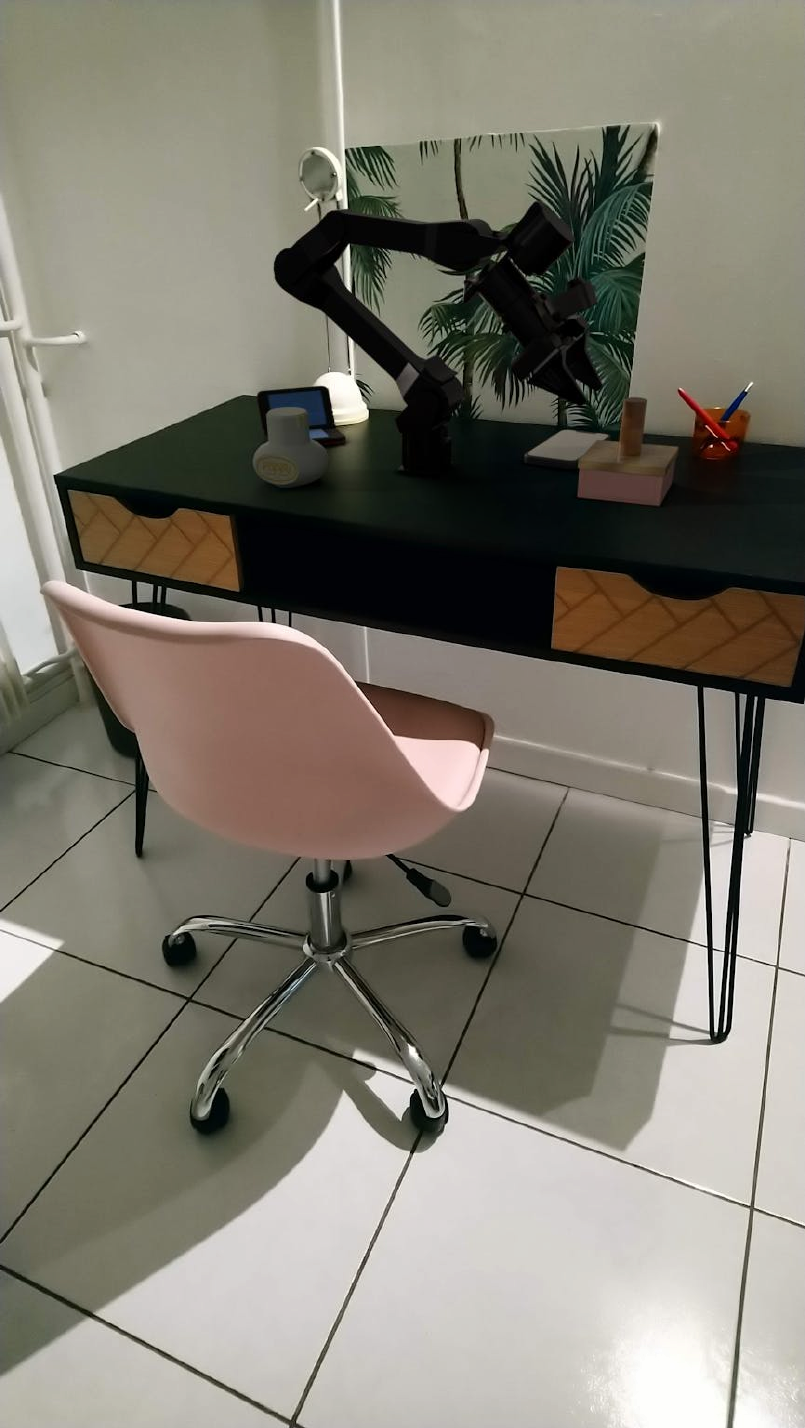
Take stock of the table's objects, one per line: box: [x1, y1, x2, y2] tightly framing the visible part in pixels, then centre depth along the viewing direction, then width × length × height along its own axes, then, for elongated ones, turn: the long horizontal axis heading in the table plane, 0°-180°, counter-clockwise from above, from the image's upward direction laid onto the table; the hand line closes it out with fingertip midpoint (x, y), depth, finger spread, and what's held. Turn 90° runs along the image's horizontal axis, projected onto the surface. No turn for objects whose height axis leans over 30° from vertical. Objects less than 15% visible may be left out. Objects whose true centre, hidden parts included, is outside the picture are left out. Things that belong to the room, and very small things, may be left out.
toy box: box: [577, 459, 676, 507], centre depth 122 cm, size 11×10×4 cm
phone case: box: [524, 429, 612, 471], centre depth 139 cm, size 9×2×16 cm
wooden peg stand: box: [577, 396, 679, 477], centre depth 119 cm, size 11×10×8 cm
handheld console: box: [256, 385, 346, 446], centre depth 148 cm, size 12×11×7 cm
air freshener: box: [252, 407, 330, 489], centre depth 128 cm, size 11×8×10 cm
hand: (592, 396), depth 119 cm, fingers open, 9 cm apart
